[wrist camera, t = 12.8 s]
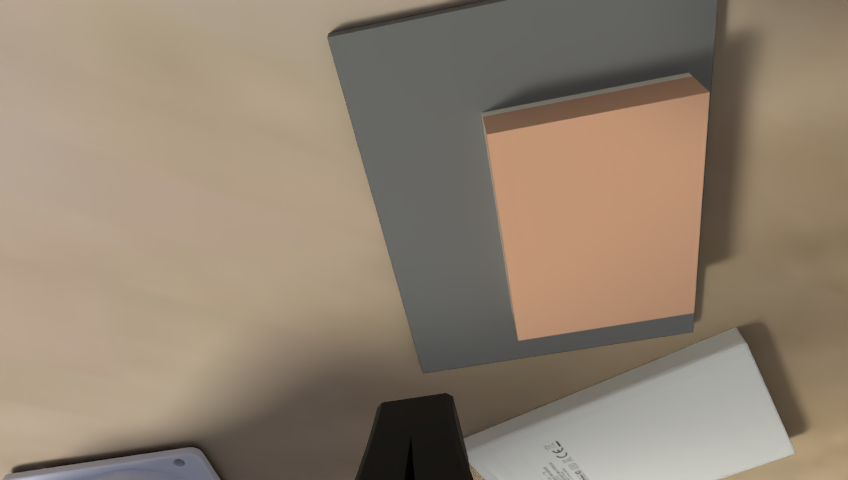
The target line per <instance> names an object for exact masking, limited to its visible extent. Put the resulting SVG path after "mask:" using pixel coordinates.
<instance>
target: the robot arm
mask: <svg viewBox="0 0 848 480" xmlns="http://www.w3.org/2000/svg"><path fill="white" fill-rule="evenodd" d="M2 480H220V478H219V477H218V475H217V474H216V472H215V471H214V469H213V468H212V466H211V464H210V463H209V461H208V460H207V458H206V457H205V455H204V454H203V452H202V451H201V450H199V449H197V448H194V447H187V448H180V449H174V450H167V451H160V452H153V453H146V454H140V455H133V456H126V457H119V458H113V459H106V460H99V461H92V462H85V463H79V464H72V465H65V466H58V467H52V468H45V469H38V470H31V471H25V472H18V473H11V474H7V475H5V476H4V478H3V479H2ZM355 480H473V477H472V475H471V472H470V467H469V461H468V455H467V451H466V447H465V443H464V439H463V435H462V431H461V427H460V423H459V419H458V415H457V411H456V407H455V403H454V399H453V396H451V395H449V394H447V393H444V394H437V395H430V396H424V397H417V398H410V399H404V400H397V401H390V402H384V403H381V404H380V406H379V407H378V408H377V412H376V416H375V420H374V423H373V427H372V430H371V434H370V437H369V440H368V444H367V447H366V450H365V453H364V456H363V459H362V461H361V464H360V467H359V470H358V473H357V476H356V478H355Z"/></svg>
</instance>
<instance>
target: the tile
mask: <svg viewBox="0 0 848 480" xmlns="http://www.w3.org/2000/svg"><path fill="white" fill-rule="evenodd" d="M709 96H710V92H709V91H708V90H707V89H706V88H705V87H704V86H703V85H702V84H700V83H699V82H698V81H697V80H696V79H695V78H694V77H693V76H692V75H691V74H690V73H684V74H679V75H673V76H668V77H663V78H658V79H653V80H648V81H642V82H637V83H632V84H627V85H622V86H617V87H611V88H606V89H601V90H596V91H591V92H586V93H581V94H575V95H570V96H565V97H560V98H555V99H550V100H544V101H539V102H534V103H529V104H524V105H519V106H513V107H508V108H503V109H498V110H493V111H488V112H483V113H482V120H483V126H484V133H485V139H486V146H487V152H488V159H489V165H490V171H491V178H492V184H493V191H494V197H495V204H496V210H497V217H498V223H499V230H500V236H501V242H502V249H503V255H504V262H505V268H506V275H507V281H508V288H509V294H510V301H511V307H512V313H513V318H514V323H515V327H516V332H517V337H518V341H520V340H526V339H533V338H539V337H545V336H552V335H558V334H564V333H571V332H577V331H583V330H590V329H596V328H602V327H609V326H615V325H621V324H628V323H634V322H640V321H647V320H653V319H659V318H666V317H672V316H678V315H685V314H691V313H694V307H695V293H696V279H697V265H698V251H699V237H700V223H701V208H702V194H703V180H704V166H705V152H706V138H707V124H708V110H709Z"/></svg>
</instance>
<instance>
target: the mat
mask: <svg viewBox="0 0 848 480" xmlns="http://www.w3.org/2000/svg"><path fill="white" fill-rule="evenodd" d="M717 4H718V0H486V1H481V2H477V3H472V4H467V5H462V6H457V7H453V8H448V9H443V10H438V11H433V12H429V13H424V14H419V15H414V16H409V17H405V18H400V19H395V20H390V21H385V22H381V23H376V24H371V25H366V26H361V27H357V28H352V29H347V30H342V31H337V32H333V33H329V34H328V37H327V38H328V42H329V45H330V49H331V52H332V56H333V59H334V63H335V66H336V70H337V73H338V77H339V80H340V84H341V87H342V91H343V94H344V98H345V101H346V105H347V108H348V112H349V115H350V119H351V122H352V126H353V130H354V133H355V137H356V140H357V144H358V147H359V151H360V154H361V158H362V161H363V165H364V168H365V172H366V175H367V179H368V182H369V186H370V189H371V193H372V196H373V200H374V203H375V207H376V210H377V214H378V217H379V221H380V224H381V228H382V231H383V235H384V238H385V242H386V246H387V249H388V253H389V256H390V260H391V263H392V267H393V270H394V274H395V277H396V281H397V284H398V288H399V291H400V295H401V298H402V302H403V305H404V309H405V312H406V316H407V319H408V323H409V326H410V330H411V333H412V337H413V340H414V344H415V347H416V351H417V355H418V358H419V362H420V365H421V369H422V372H423V373H429V372H436V371H442V370H449V369H455V368H462V367H468V366H475V365H481V364H488V363H494V362H501V361H507V360H514V359H520V358H527V357H533V356H540V355H546V354H553V353H560V352H566V351H573V350H579V349H586V348H592V347H599V346H605V345H612V344H618V343H625V342H631V341H638V340H644V339H651V338H657V337H664V336H670V335H677V334H683V333H690V332H693V325H694V313H691V314H685V315H678V316H672V317H666V318H659V319H653V320H647V321H640V322H634V323H628V324H621V325H615V326H609V327H602V328H596V329H590V330H583V331H577V332H571V333H564V334H558V335H552V336H545V337H539V338H533V339H526V340H520V341H518V337H517V332H516V327H515V323H514V318H513V313H512V307H511V301H510V294H509V288H508V281H507V275H506V268H505V262H504V255H503V249H502V242H501V236H500V230H499V223H498V217H497V210H496V204H495V197H494V191H493V184H492V178H491V171H490V165H489V159H488V152H487V146H486V139H485V133H484V126H483V120H482V113H483V112H488V111H493V110H498V109H503V108H508V107H513V106H519V105H524V104H529V103H534V102H539V101H544V100H550V99H555V98H560V97H565V96H570V95H575V94H581V93H586V92H591V91H596V90H601V89H606V88H611V87H617V86H622V85H627V84H632V83H637V82H642V81H648V80H653V79H658V78H663V77H668V76H673V75H679V74H684V73H690V74H691V75H692V76H693V77H694V78H695V79H696V80H697V81H698V82H699V83H700V84H702V85H703V86H704V87H705V88H706V89H707V90H708V91H709V92H710V96H709V110H708V124H709V111H710V97H711V84H712V71H713V57H714V44H715V31H716V17H717ZM708 124H707V138H708ZM707 138H706V151H707ZM705 164H706V152H705ZM704 178H705V166H704ZM703 191H704V180H703ZM702 205H703V194H702ZM701 218H702V208H701ZM700 231H701V223H700ZM699 245H700V237H699ZM698 258H699V251H698ZM697 271H698V265H697ZM696 285H697V279H696ZM695 298H696V293H695ZM694 312H695V307H694Z"/></svg>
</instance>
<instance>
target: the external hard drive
mask: <svg viewBox="0 0 848 480" xmlns="http://www.w3.org/2000/svg"><path fill="white" fill-rule="evenodd" d="M463 439H464V443H465V447H466V451H467V455H468V461H469V464H470V465H471V466H472V467H473V468H474V469H475V470H476V471H477V472H478V473H479V474H480V475H481V476H482V477H483V478H484V479H485V480H718V479H721V478H724V477H727V476H730V475H733V474H736V473H739V472H742V471H745V470H748V469H751V468H754V467H757V466H760V465H763V464H766V463H769V462H772V461H775V460H778V459H781V458H784V457H787V456H790V455H793V454H795V453H796V452H795V450H794V447H793V445H792V443H791V441H790V439H789V436H788V434H787V432H786V430H785V427H784V425H783V423H782V421H781V418H780V416H779V414H778V412H777V410H776V407H775V405H774V403H773V401H772V398H771V396H770V394H769V392H768V389H767V387H766V385H765V383H764V380H763V378H762V376H761V374H760V371H759V369H758V366H757V364H756V362H755V360H754V358H753V356H752V354H751V351H750V349H749V347H748V344H747V343H746V341H745V340H744V339H743V337H742V335H741V334H740V332H739V330H738V329H737V327H734V328H732V329H729V330H727V331H725V332H722V333H720V334H717V335H715V336H712V337H710V338H708V339H705V340H703V341H700V342H698V343H695V344H693V345H690V346H688V347H686V348H683V349H681V350H678V351H676V352H673V353H671V354H669V355H666V356H664V357H661V358H659V359H656V360H654V361H652V362H649V363H647V364H644V365H642V366H639V367H637V368H634V369H632V370H629V371H627V372H625V373H622V374H620V375H617V376H615V377H612V378H610V379H608V380H605V381H603V382H600V383H598V384H595V385H593V386H590V387H588V388H585V389H583V390H581V391H578V392H576V393H573V394H571V395H568V396H566V397H563V398H561V399H558V400H556V401H554V402H551V403H549V404H546V405H544V406H541V407H539V408H536V409H534V410H532V411H529V412H527V413H524V414H522V415H519V416H517V417H514V418H512V419H510V420H507V421H505V422H502V423H500V424H497V425H495V426H492V427H490V428H488V429H485V430H483V431H480V432H478V433H475V434H473V435H470V436H468V437H466V438H463Z"/></svg>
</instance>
